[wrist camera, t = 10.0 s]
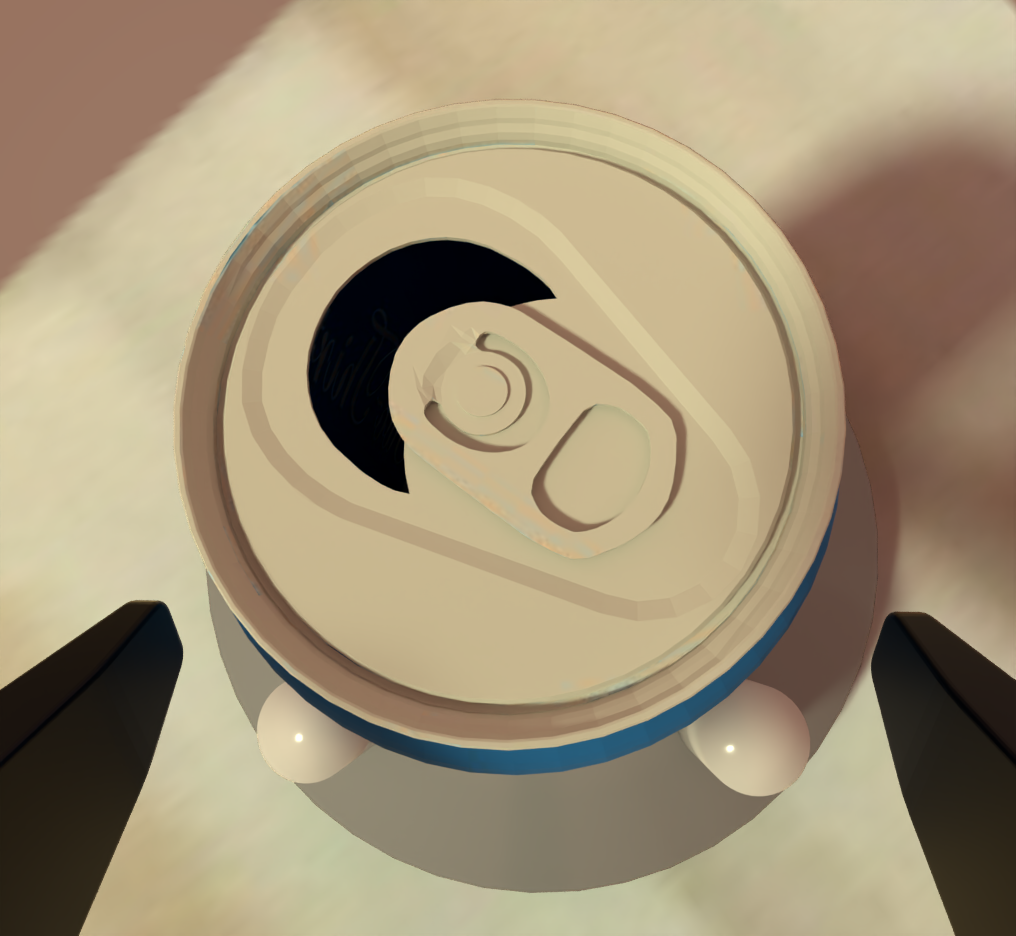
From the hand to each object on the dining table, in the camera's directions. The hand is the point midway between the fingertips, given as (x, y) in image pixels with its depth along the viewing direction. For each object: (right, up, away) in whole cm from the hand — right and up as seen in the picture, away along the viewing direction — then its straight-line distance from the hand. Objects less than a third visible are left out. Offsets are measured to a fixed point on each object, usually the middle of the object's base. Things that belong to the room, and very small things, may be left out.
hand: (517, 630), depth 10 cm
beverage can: (0, 0, +9) cm, 9 cm away
